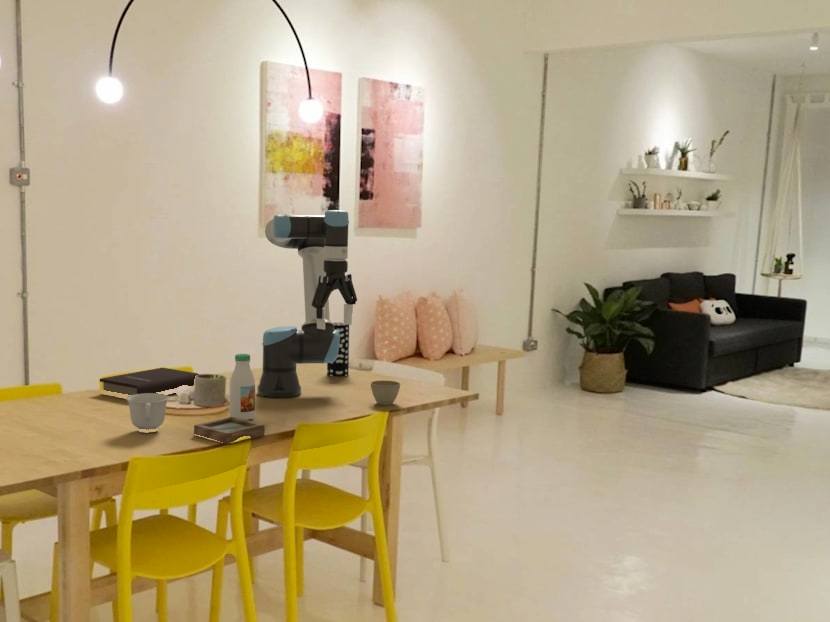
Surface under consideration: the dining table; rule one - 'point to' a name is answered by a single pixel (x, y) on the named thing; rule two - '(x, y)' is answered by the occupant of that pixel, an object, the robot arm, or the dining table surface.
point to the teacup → (147, 410)
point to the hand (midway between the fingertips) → (334, 326)
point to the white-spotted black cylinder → (340, 353)
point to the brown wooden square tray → (229, 429)
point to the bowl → (385, 391)
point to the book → (148, 381)
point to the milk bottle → (242, 389)
